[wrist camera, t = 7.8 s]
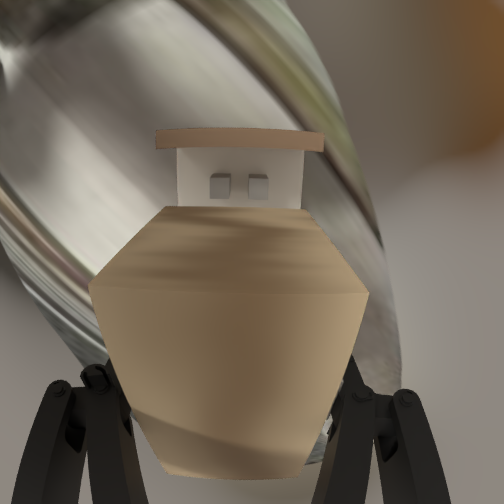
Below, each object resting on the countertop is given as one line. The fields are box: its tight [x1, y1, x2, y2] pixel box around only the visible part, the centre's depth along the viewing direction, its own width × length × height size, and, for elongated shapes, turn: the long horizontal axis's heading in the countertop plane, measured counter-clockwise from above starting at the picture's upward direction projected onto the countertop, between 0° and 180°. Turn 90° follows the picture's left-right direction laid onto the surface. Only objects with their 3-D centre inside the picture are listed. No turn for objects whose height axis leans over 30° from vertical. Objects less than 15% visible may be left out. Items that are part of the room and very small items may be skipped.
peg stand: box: [156, 128, 324, 209], centre depth 27 cm, size 13×20×8 cm, turn 178°
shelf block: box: [88, 206, 369, 480], centre depth 12 cm, size 7×12×8 cm, turn 178°
